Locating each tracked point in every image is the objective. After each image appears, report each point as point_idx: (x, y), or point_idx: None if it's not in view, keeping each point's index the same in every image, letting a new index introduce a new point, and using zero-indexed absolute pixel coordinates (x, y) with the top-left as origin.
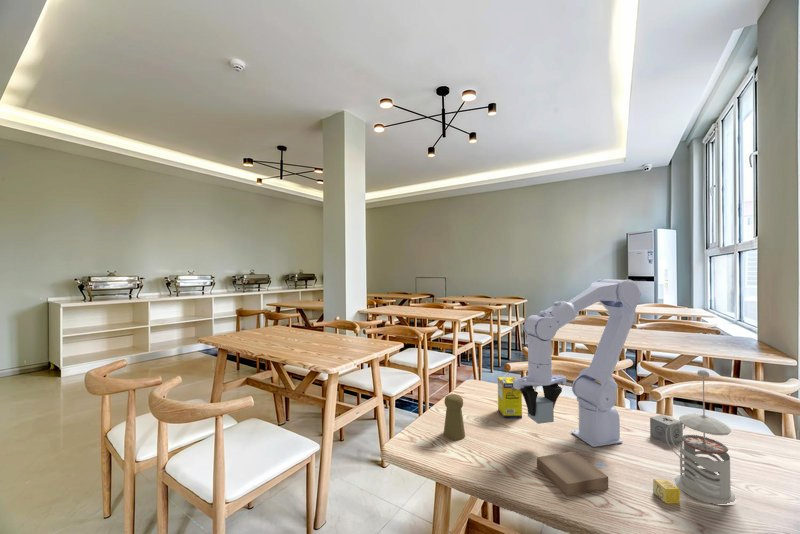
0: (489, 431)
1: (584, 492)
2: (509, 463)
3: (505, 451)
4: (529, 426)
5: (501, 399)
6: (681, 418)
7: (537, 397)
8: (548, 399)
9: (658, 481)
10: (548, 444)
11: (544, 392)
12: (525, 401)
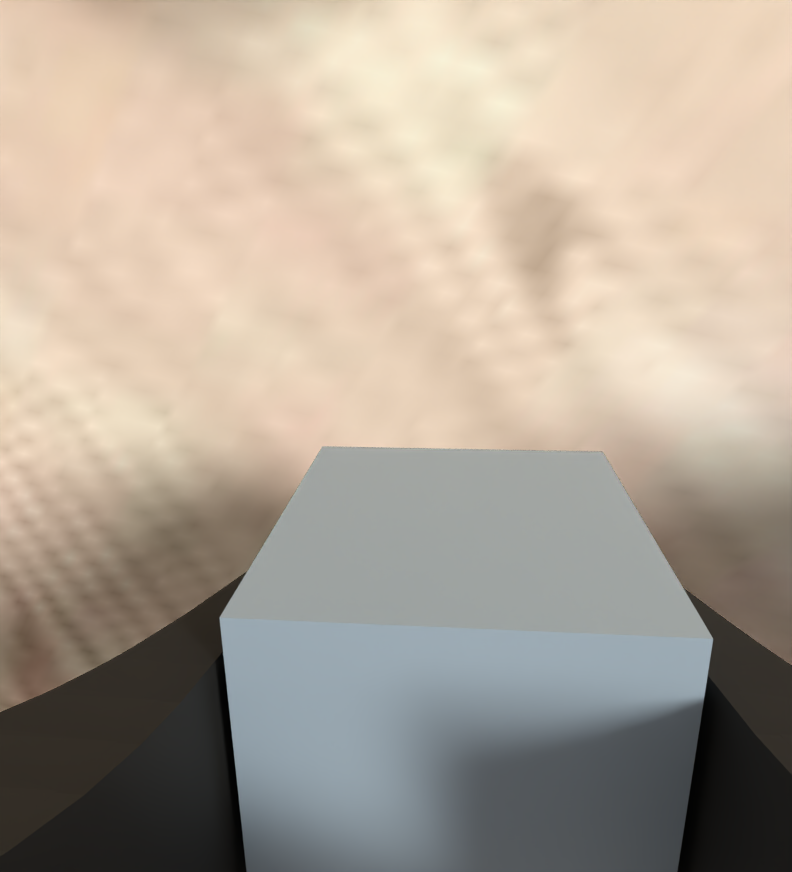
0: (64, 32)
1: None
2: (62, 595)
3: (92, 447)
4: (615, 17)
5: None
6: None
7: (491, 686)
8: (677, 861)
9: None
10: (545, 444)
11: (777, 806)
12: (143, 648)
